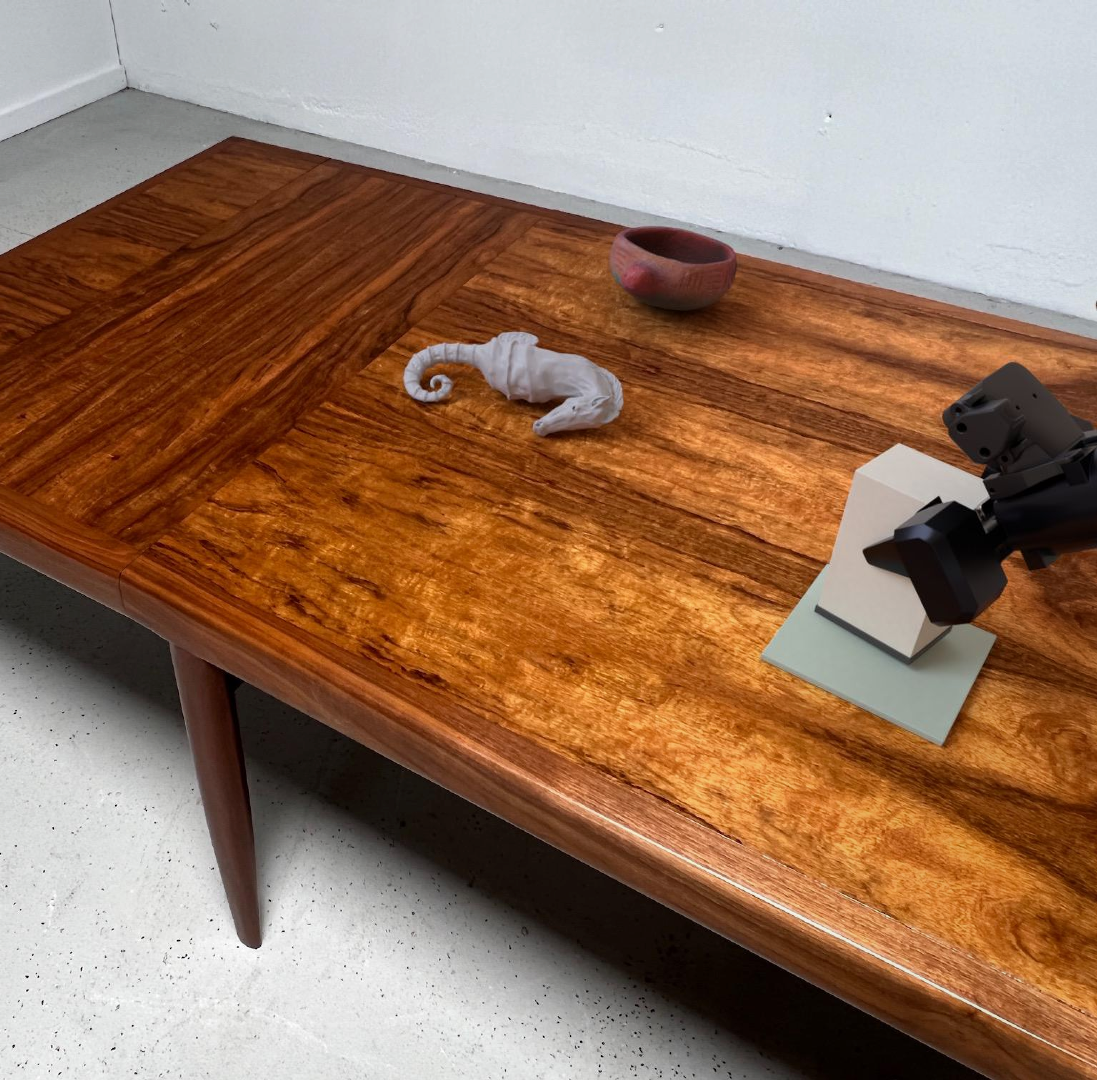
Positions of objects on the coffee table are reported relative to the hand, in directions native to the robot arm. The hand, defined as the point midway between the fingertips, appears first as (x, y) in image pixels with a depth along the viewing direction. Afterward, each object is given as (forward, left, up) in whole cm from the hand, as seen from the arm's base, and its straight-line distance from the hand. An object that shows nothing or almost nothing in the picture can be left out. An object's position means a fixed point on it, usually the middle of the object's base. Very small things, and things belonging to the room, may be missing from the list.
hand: (888, 539), depth 71 cm
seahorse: (+35, -8, -7) cm, 36 cm away
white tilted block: (-2, 0, -6) cm, 7 cm away
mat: (-2, +2, -7) cm, 8 cm away
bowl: (+32, -33, -7) cm, 46 cm away
